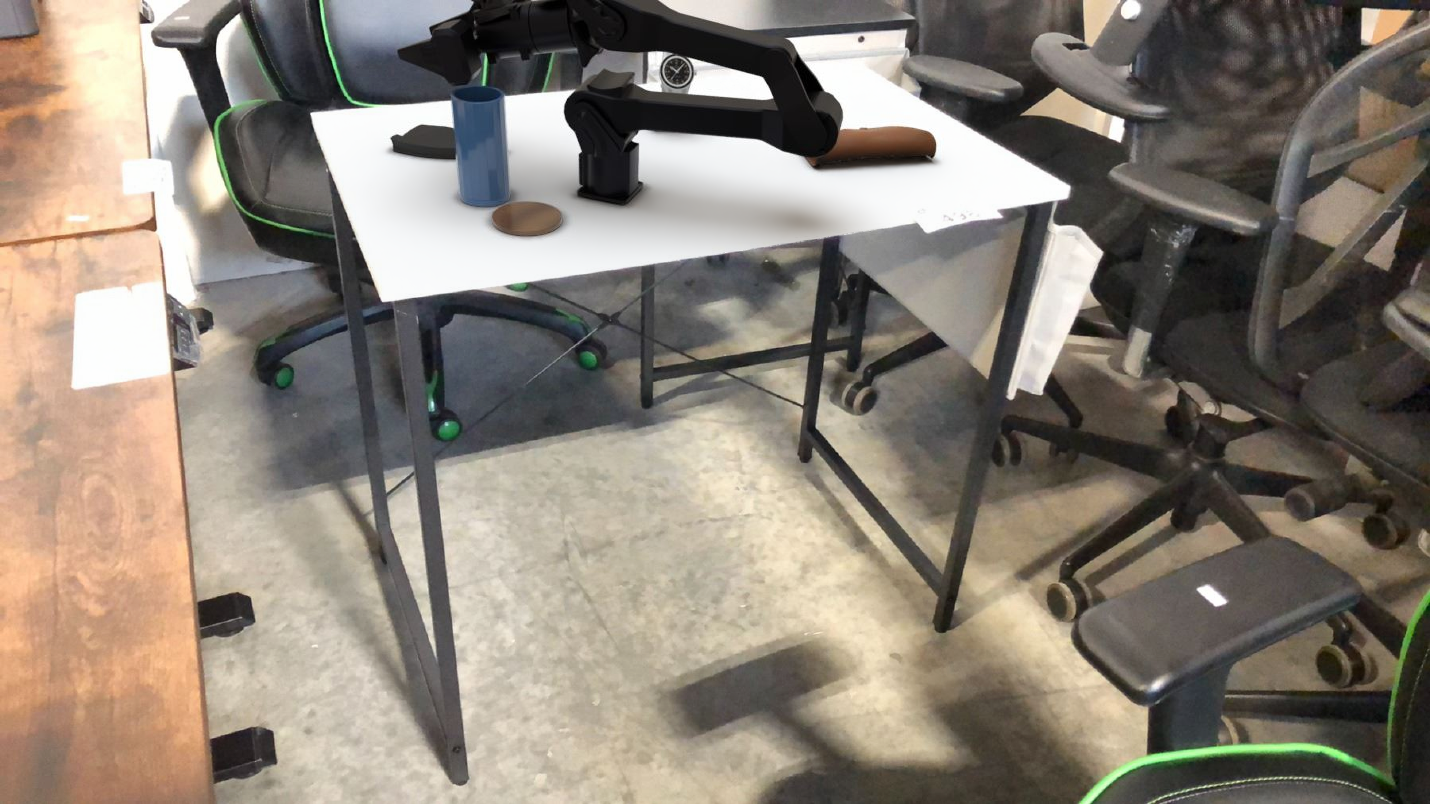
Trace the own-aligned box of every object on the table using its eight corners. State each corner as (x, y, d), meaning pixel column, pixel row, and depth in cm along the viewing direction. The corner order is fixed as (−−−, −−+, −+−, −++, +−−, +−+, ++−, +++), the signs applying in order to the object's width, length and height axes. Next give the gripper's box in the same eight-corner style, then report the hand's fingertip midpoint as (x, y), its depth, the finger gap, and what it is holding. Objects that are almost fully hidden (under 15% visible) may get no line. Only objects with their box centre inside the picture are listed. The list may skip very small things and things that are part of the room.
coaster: (573, 213, 118) (573, 208, 117) (543, 241, 111) (543, 236, 111) (512, 201, 119) (512, 196, 119) (479, 227, 113) (479, 222, 113)
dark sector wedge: (483, 168, 127) (482, 156, 126) (388, 151, 129) (387, 139, 128) (512, 146, 133) (511, 134, 132) (422, 129, 136) (420, 118, 135)
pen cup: (519, 191, 122) (513, 90, 114) (495, 210, 117) (488, 106, 110) (475, 182, 123) (467, 82, 116) (450, 201, 118) (440, 97, 111)
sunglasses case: (908, 136, 144) (926, 105, 139) (922, 176, 142) (942, 146, 136) (793, 143, 139) (807, 111, 133) (806, 184, 137) (821, 154, 131)
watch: (656, 136, 140) (659, 57, 133) (648, 116, 146) (650, 39, 140) (695, 135, 141) (700, 57, 134) (685, 115, 147) (689, 40, 141)
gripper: (545, -66, 116) (424, -48, 120) (490, -28, 102) (354, -9, 105) (567, 31, 123) (452, 45, 126) (519, 80, 108) (389, 94, 111)
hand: (415, 42), depth 117 cm, fingers open, 9 cm apart
